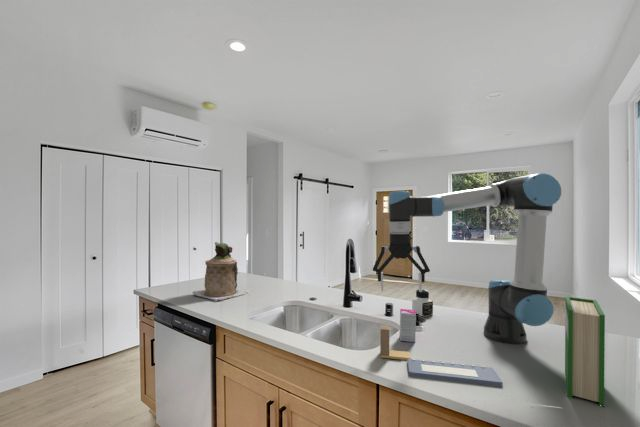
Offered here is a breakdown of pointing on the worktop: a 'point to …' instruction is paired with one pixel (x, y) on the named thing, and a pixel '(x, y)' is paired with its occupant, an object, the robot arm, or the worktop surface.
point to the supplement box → (407, 325)
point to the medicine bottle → (422, 303)
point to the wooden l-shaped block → (385, 346)
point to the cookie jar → (221, 276)
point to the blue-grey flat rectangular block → (454, 372)
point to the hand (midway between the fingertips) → (401, 290)
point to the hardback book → (584, 349)
